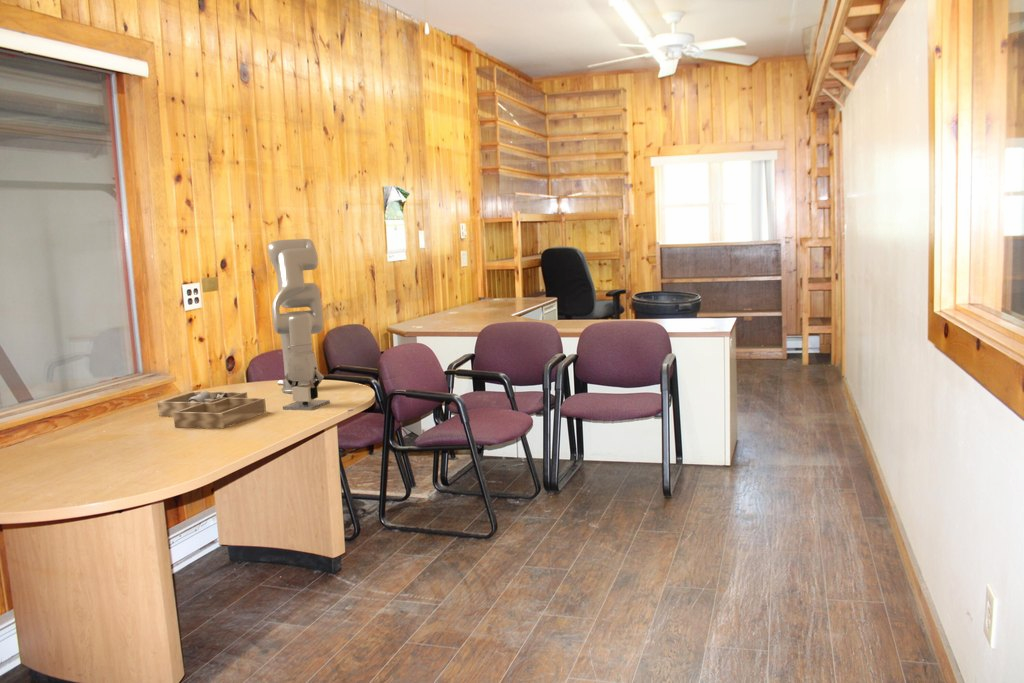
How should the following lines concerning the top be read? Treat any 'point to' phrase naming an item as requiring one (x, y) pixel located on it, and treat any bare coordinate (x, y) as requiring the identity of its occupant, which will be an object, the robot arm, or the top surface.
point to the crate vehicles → (237, 413)
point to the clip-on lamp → (205, 397)
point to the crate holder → (182, 403)
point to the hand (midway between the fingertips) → (305, 397)
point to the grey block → (302, 393)
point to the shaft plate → (306, 405)
